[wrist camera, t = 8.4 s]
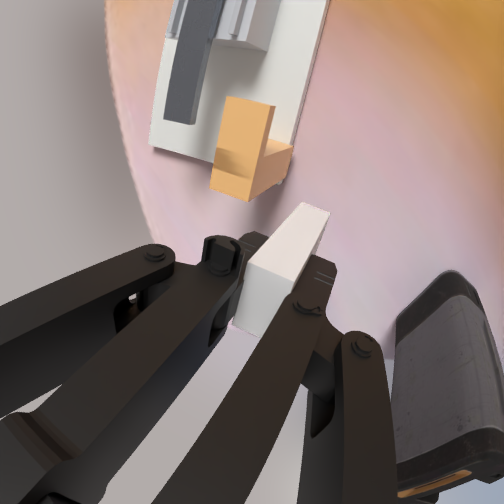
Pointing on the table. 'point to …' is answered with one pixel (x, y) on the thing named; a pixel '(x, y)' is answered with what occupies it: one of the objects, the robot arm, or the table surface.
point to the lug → (248, 150)
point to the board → (244, 70)
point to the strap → (191, 60)
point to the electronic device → (446, 393)
